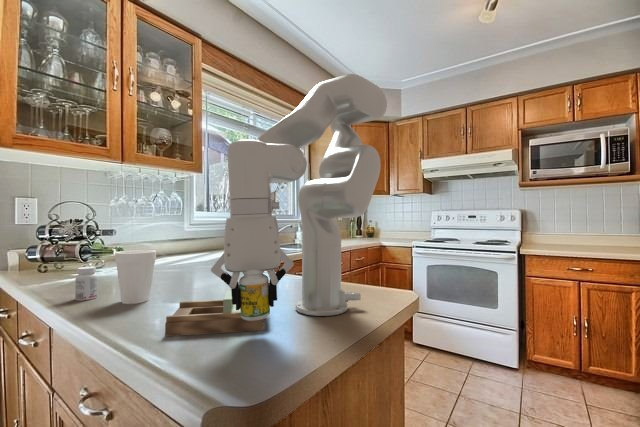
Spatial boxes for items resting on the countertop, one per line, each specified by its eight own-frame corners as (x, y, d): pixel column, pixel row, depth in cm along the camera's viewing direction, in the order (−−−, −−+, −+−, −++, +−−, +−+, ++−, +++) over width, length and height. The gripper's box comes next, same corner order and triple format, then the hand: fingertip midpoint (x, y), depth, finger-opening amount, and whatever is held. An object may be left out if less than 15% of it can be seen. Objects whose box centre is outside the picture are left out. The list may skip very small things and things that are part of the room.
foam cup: (108, 301, 82) (109, 252, 82) (144, 294, 89) (145, 249, 89) (124, 307, 76) (125, 254, 76) (162, 299, 84) (163, 251, 84)
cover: (267, 302, 71) (267, 288, 72) (269, 313, 63) (269, 298, 63) (227, 304, 70) (227, 290, 70) (222, 316, 61) (223, 300, 61)
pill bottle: (95, 295, 88) (95, 265, 88) (98, 298, 85) (99, 267, 85) (73, 298, 85) (74, 267, 85) (76, 301, 81) (77, 269, 82)
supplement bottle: (275, 312, 59) (273, 262, 59) (259, 323, 54) (257, 268, 54) (251, 310, 61) (249, 261, 61) (234, 319, 56) (232, 267, 56)
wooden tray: (262, 312, 73) (263, 297, 73) (264, 329, 61) (264, 312, 61) (180, 316, 69) (180, 301, 69) (165, 336, 57) (165, 317, 57)
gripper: (294, 207, 63) (298, 296, 63) (205, 210, 59) (209, 304, 60) (300, 207, 55) (303, 308, 56) (198, 211, 52) (203, 318, 52)
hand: (255, 305), depth 58 cm, fingers closed on supplement bottle, 5 cm apart
